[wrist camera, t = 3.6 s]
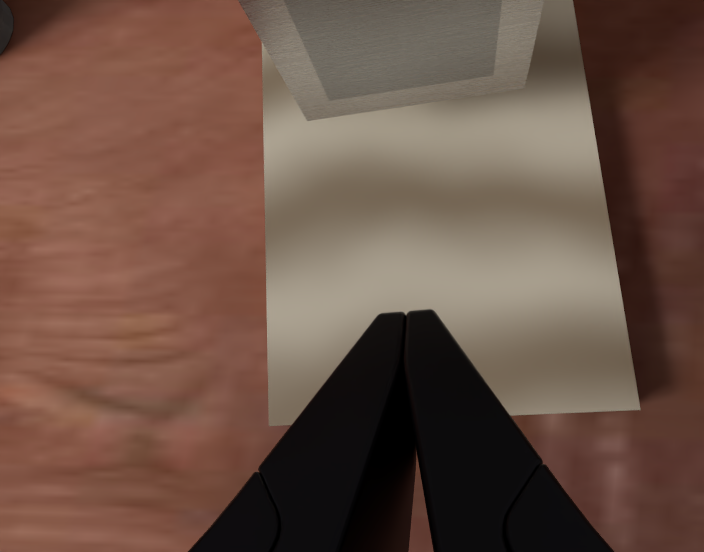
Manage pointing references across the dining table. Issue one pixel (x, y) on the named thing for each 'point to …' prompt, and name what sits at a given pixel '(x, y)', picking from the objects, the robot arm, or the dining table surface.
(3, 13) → the beverage cup
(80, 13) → the dining table surface
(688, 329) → the dining table surface
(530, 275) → the l-shaped wooden stand
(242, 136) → the dining table surface
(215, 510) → the dining table surface
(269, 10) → the grey cube
